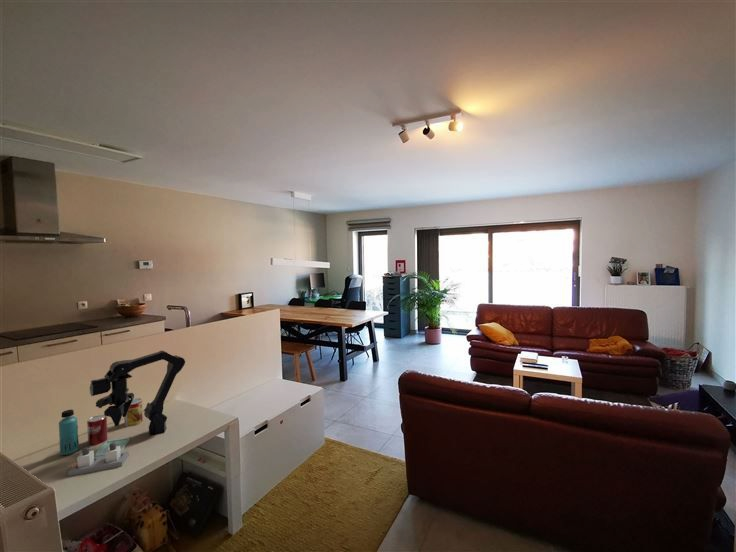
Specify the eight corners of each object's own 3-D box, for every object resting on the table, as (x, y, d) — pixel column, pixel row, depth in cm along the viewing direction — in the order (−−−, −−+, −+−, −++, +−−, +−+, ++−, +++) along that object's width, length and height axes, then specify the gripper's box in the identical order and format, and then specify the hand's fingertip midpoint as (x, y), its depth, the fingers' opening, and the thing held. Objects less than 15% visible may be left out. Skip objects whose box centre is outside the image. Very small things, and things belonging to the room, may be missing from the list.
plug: (120, 458, 141) (120, 440, 140) (117, 464, 137) (116, 445, 137) (109, 460, 139) (109, 442, 139) (105, 466, 136) (105, 447, 135)
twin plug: (94, 463, 137) (93, 444, 137) (90, 469, 134) (89, 449, 133) (82, 465, 136) (81, 446, 136) (78, 471, 132) (77, 451, 132)
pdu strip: (128, 456, 143) (128, 450, 143) (122, 467, 136) (121, 460, 136) (78, 465, 137) (78, 458, 137) (68, 477, 130) (68, 470, 129)
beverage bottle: (62, 460, 141) (60, 415, 140) (57, 455, 144) (55, 412, 144) (81, 452, 146) (79, 409, 146) (76, 448, 150) (74, 406, 149)
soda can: (96, 447, 151) (95, 422, 150) (84, 445, 152) (82, 421, 151) (111, 439, 158) (110, 415, 157) (99, 437, 159) (98, 413, 159)
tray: (105, 443, 154) (105, 440, 154) (130, 439, 157) (130, 436, 157) (93, 458, 142) (93, 456, 142) (120, 454, 145) (120, 451, 145)
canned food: (145, 422, 174) (144, 400, 174) (127, 428, 168) (126, 405, 167) (139, 418, 179) (138, 397, 178) (122, 423, 172) (121, 402, 172)
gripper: (106, 384, 156) (108, 415, 157) (88, 399, 139) (90, 434, 139) (133, 381, 160) (135, 411, 161) (119, 395, 143) (121, 429, 143)
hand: (120, 421), depth 151 cm, fingers open, 9 cm apart
